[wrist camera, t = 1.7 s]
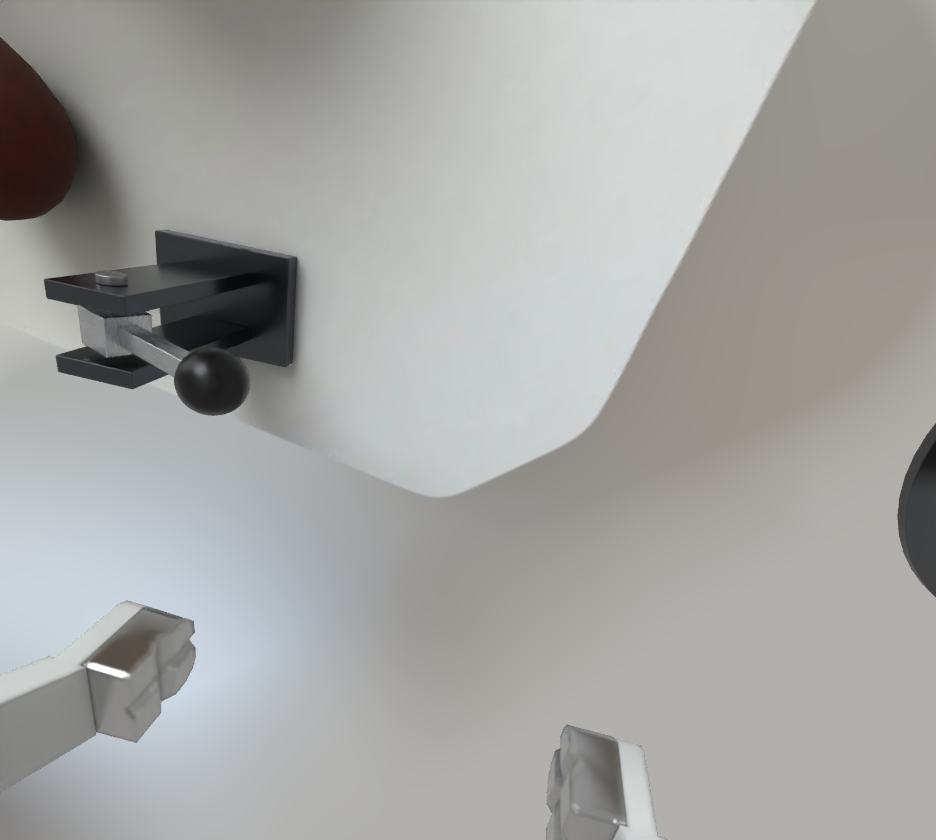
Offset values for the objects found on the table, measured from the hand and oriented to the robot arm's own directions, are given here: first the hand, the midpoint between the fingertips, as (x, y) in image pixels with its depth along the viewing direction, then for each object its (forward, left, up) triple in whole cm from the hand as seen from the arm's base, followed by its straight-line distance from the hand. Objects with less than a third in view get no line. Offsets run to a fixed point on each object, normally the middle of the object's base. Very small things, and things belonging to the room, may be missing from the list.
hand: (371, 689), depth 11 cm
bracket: (+19, +7, -28) cm, 35 cm away
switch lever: (+15, +5, -17) cm, 23 cm away
